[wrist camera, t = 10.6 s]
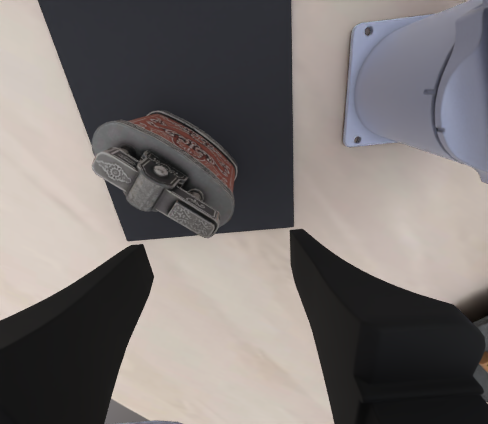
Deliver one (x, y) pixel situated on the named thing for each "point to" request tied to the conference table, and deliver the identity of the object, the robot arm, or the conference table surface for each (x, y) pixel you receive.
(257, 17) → the desk mat
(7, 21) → the conference table surface
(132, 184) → the lighter
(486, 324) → the serving tray
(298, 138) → the conference table surface
